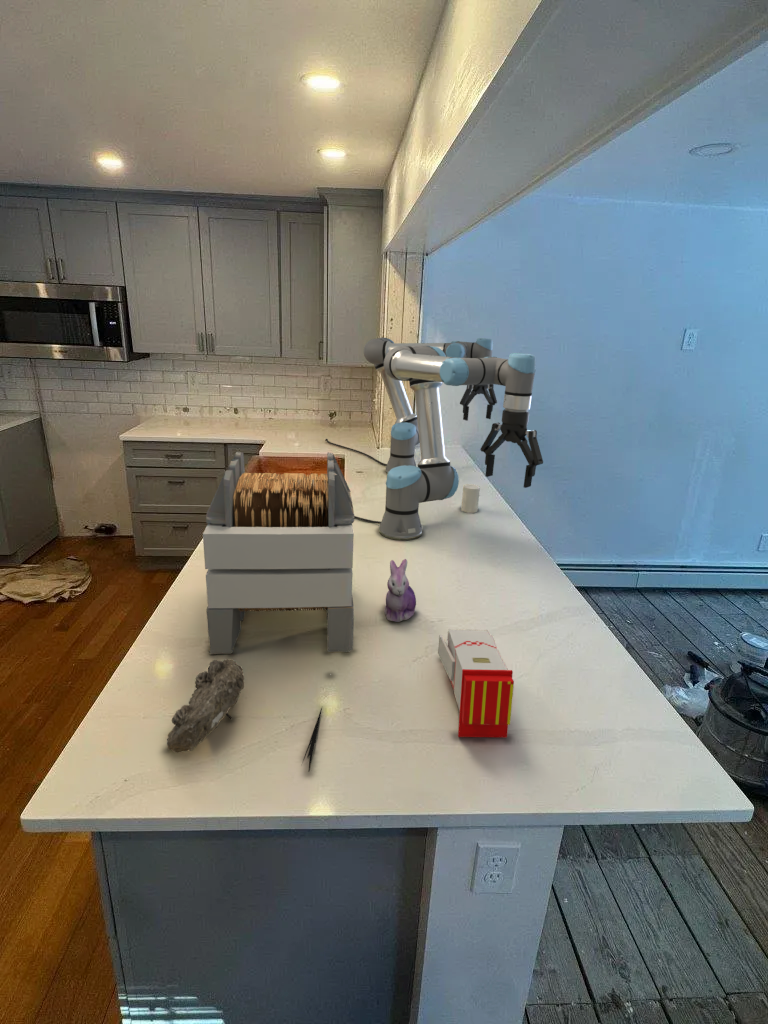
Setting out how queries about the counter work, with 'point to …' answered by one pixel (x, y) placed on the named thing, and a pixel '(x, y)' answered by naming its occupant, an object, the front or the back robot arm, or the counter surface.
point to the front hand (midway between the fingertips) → (507, 481)
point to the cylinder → (470, 498)
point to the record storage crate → (279, 550)
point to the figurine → (399, 594)
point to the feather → (313, 740)
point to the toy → (478, 682)
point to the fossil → (206, 705)
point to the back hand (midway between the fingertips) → (476, 419)
